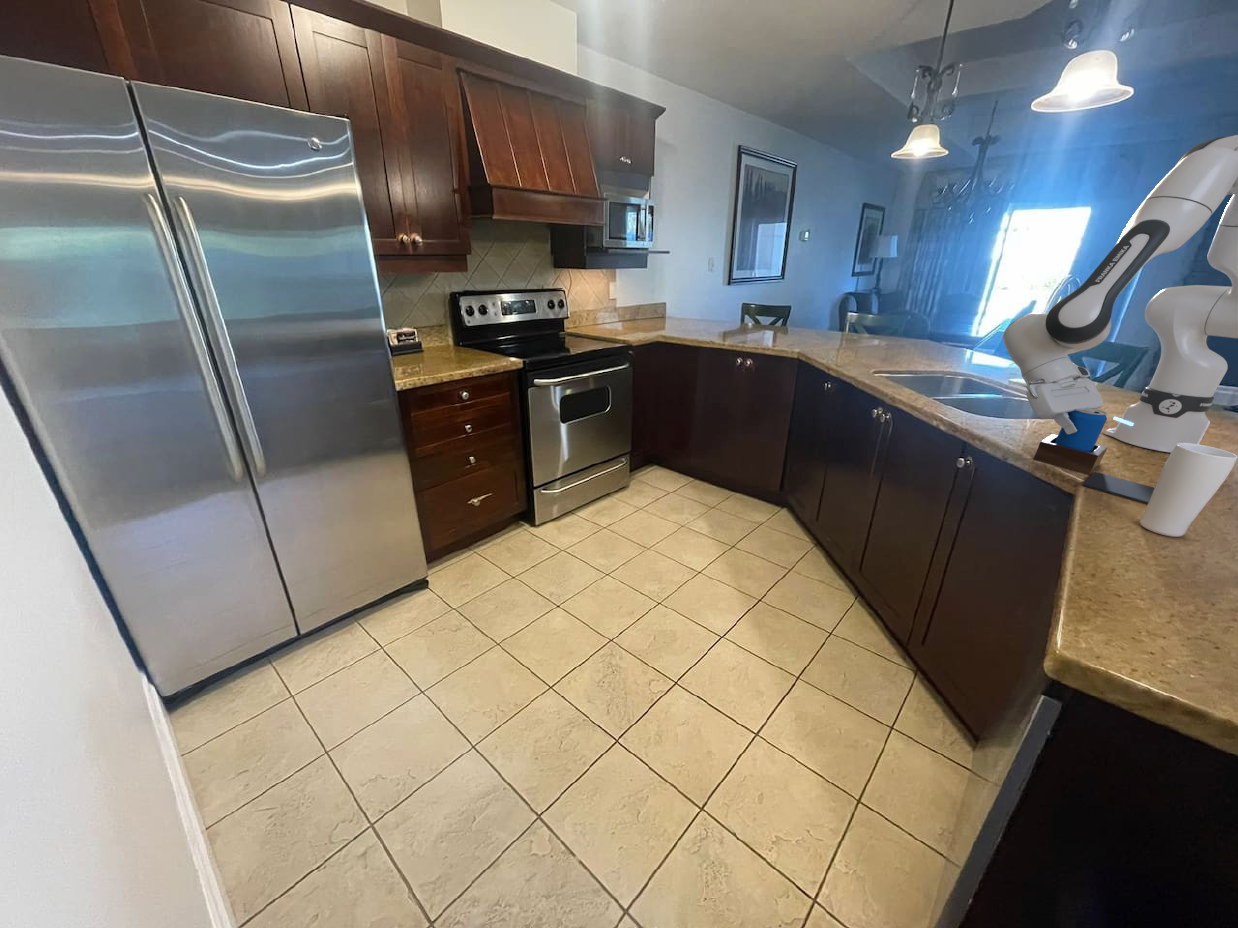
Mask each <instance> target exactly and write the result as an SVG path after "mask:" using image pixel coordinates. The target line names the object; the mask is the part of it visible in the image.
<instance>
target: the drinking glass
mask: <svg viewBox="0 0 1238 928" xmlns="http://www.w3.org/2000/svg"><path fill="white" fill-rule="evenodd" d="M1200 444H1201V443H1200ZM1200 444H1193V443H1178V444H1176V446H1175V448H1174V449H1173V451H1172V452H1171V453H1170V454H1169V455H1168V457H1167V458H1166V461H1165V463H1164V465H1163V466H1162V469H1161V472H1160V474H1159V476H1158V478H1157V481H1156V484H1155V486H1154V491H1153V493H1152V496H1151V498H1150V501H1149V503H1148V504H1146V505H1147V506H1146V508H1145V510H1144V512H1143V514H1142V516H1141V518H1140V520H1139V524H1140V525H1141V527H1143V528H1144V529H1146V530H1148V531H1150V532H1152V533H1155V534H1158V535H1162V536H1166V537H1173V538H1179V537H1182V536H1184V535H1185V534H1186V532H1187V531H1188V529H1189V527H1190V526H1191V525H1192V523H1193V522H1194V521H1195V519H1196V518H1197V517H1198V516H1199V514H1200V513H1201V511H1202V510H1203V509H1204V508H1205V507H1206V505H1207V504H1208V503H1209V501H1210V500H1211V499H1212V497H1214V495H1215V494H1216V493H1217V491H1218V490H1219V489H1220V488H1221V486H1222V485H1223V484H1224V482H1225V481H1226V479H1227V478H1228V477H1229V475H1230V473H1231V471H1232V470H1233V468H1234V466H1235V464H1236V462H1237V460H1238V455H1237V454H1236V453H1233V452H1231V451H1228V450H1225V449H1223V448H1219V447H1214V446H1209V445H1205V444H1201V445H1200Z"/></svg>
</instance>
